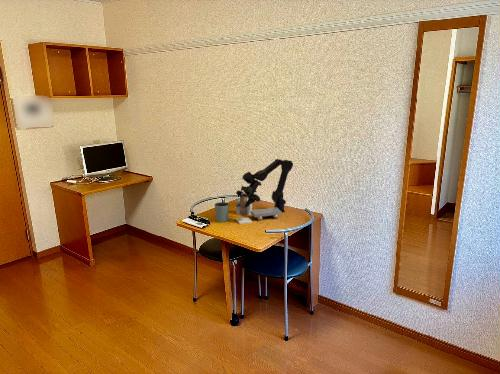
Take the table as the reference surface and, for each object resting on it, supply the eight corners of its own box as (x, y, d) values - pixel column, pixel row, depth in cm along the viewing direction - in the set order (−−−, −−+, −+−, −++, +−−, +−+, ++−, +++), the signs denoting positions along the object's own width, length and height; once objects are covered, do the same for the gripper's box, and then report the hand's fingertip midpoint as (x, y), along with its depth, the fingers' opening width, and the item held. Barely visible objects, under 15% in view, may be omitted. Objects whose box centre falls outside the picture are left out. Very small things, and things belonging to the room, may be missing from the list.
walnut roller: (246, 213, 271) (246, 195, 268) (248, 215, 267) (248, 197, 263) (239, 214, 270) (239, 196, 267) (241, 216, 265) (241, 198, 262)
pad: (248, 218, 275) (248, 217, 275) (252, 222, 266) (252, 221, 266) (236, 220, 272) (236, 218, 272) (239, 224, 264) (239, 222, 264)
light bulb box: (236, 214, 285) (235, 200, 282) (238, 211, 291) (238, 197, 289) (250, 214, 283) (250, 200, 280) (252, 212, 289) (252, 198, 286)
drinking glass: (212, 220, 273) (211, 204, 270) (223, 216, 280) (222, 201, 277) (221, 223, 266) (220, 207, 263) (232, 220, 273) (231, 203, 270)
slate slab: (276, 213, 284) (276, 207, 283) (281, 218, 274) (281, 211, 272) (250, 216, 279) (250, 210, 277) (254, 221, 268) (254, 214, 267)
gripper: (237, 179, 271) (226, 198, 266) (257, 183, 259) (246, 202, 254) (245, 187, 279) (235, 206, 274) (264, 192, 267) (254, 211, 262)
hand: (242, 206), depth 266 cm, fingers closed on walnut roller, 5 cm apart
